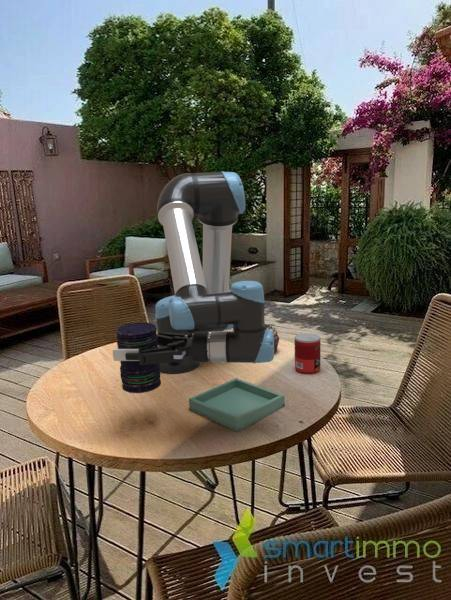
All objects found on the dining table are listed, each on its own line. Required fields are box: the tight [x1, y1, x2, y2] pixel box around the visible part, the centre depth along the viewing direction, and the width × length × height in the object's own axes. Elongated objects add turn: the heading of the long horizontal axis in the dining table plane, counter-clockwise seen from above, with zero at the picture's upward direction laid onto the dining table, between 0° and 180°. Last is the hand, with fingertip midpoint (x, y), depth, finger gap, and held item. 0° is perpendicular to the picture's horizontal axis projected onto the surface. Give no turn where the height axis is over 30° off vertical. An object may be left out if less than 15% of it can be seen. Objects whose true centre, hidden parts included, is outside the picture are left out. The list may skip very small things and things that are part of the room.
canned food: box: [294, 332, 322, 375], centre depth 144 cm, size 8×8×11 cm
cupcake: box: [265, 323, 280, 355], centre depth 162 cm, size 10×10×10 cm
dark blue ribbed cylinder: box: [115, 322, 162, 394], centre depth 114 cm, size 10×10×15 cm
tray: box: [188, 377, 285, 433], centre depth 123 cm, size 18×18×3 cm
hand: (121, 347), depth 114 cm, fingers closed on dark blue ribbed cylinder, 10 cm apart
